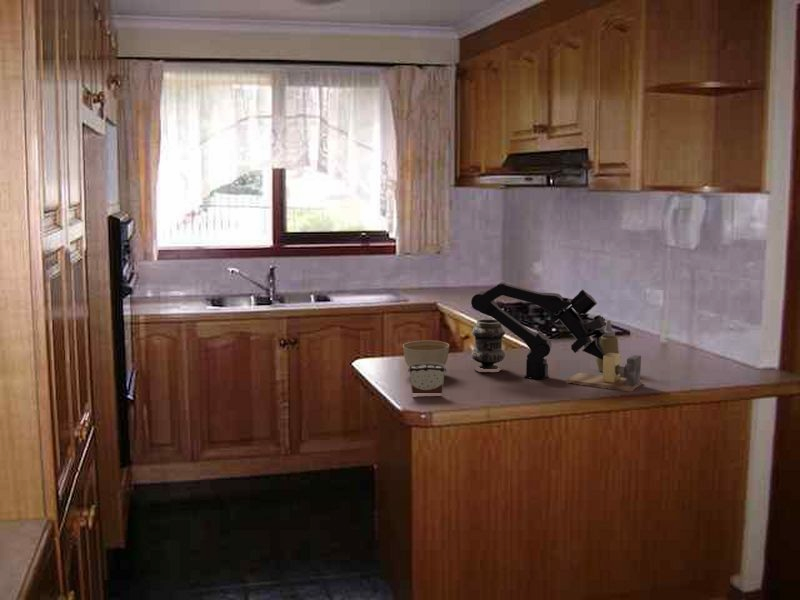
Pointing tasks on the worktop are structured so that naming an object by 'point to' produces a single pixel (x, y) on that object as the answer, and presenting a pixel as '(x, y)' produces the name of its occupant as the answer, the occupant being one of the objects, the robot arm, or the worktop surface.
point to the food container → (427, 377)
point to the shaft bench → (600, 382)
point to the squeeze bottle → (607, 344)
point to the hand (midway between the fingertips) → (605, 359)
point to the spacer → (611, 367)
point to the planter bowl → (426, 352)
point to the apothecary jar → (488, 343)
